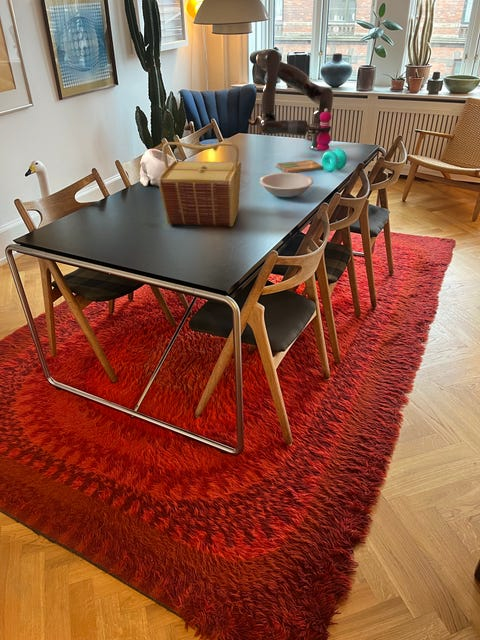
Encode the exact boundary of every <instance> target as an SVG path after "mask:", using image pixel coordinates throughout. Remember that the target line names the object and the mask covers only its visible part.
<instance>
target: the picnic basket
mask: <svg viewBox="0 0 480 640" xmlns="http://www.w3.org/2000/svg"><path fill="white" fill-rule="evenodd" d="M168 146H181V147H182V148H184V149H188V150H193V151H207V150H213V149H215V148H218V147H221V146H222V147H224V146H227V147H228V146H230V147H233V148H234V161H190V160H189V161H188V160H187V161H184V160H183V161H181V160H180V161H179V160H178V161H177V160H176V161H173V162H172V163H171V164H170V165H169V166H168V160H167V155H166V154H167V147H168ZM161 151H162V152H163V157H164V162H165V168H166V169H165V170H164V172H163V173H162V174H161V175H160V176H159V180H158V183H159V186H158V187H159V192H160V197H161V201H162V205H163V210H164V213H165V218H166V223H167V224H168V225H169V226H173V225H190V226H218V227H219V226H220V227H230V228H232V227H233V225H234V223H235V221H236V218H237V216H238V213H239V207H240V206H239V205H240V189H241V176H242V175H241V173H242V163H241V161H239V154H240V149H239V147H238V145H237V144H235V143H233V142H216V143H211V144H206V145H196V144H190V143H185V142H180V141H179V142H178V141H177V142H176V141H168V142H165V143H163V145H162V148H161Z"/></svg>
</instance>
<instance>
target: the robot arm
mask: <svg viewBox="0 0 480 640" xmlns="http://www.w3.org/2000/svg"><path fill="white" fill-rule="evenodd" d="M256 64H257V66H258V67H259V68H260V69H261V70H263V71H265V72H266V81H265V85H264V88H263V91H262V94H261V108H260V109H261V114H262V121H261V123H260V124H259V130H260V132H261V133H262V134H264V135H291V136H301V137H302V136H303V137H305V136H306V137H305V138H306V140H308V141H311V150H314V151H319V150H318V149H317V145H319V144H318V143H317V137H318V135H319V133H322V132H324V133H329V134H330V131H331V130H332V126H331V125H329V128H322V127H321V125H320V122H321V120H320V114H321V113H322V112H325V111H324V110H325V109H326V108H327V109H328V111H327V112H329V113H330V114H331V115H332V110H333V102H334V92H333V90H332V88H330V87H327V86H321V85H318V84H316V83H314V82H313V81H311V80H310V78H309V76H308V74H306V73H305V72H304V71H303V70H301V69H299V68H298V67H296V66H294V65H291V64H289V63H287V62H283V61H282V60H281V55H280V53H279V52H278V50H276V49H262V50H260V51H259V52H258V53H257V55H256ZM278 80H280V81H282V82H283V83H285V84H286V85H287V86H289V87H291V88H292V89H294V90H296V91H297V92H299V93H301V94H303V95H305V96H306V97H307V98H308V99H309V100H311V101H312V102H313V103H314V104H316V105H318V110H316V111H314V112H313V117H312V118H313V120H312V123H310V124H308V120H306V119H302V120H301V119H290V120H289V119H280V120H276V113H275V108H276V107H275V106H276V89H277V83H278Z"/></svg>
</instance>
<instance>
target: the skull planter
mask: <svg viewBox="0 0 480 640" xmlns="http://www.w3.org/2000/svg"><path fill="white" fill-rule="evenodd" d="M166 155H167V160H168V166H169V165H170V164H171V163H172V162H173V161H176V162H177V160H176V159H175V158H174V157H173V156H171V155H170V154H168V153H166ZM139 164H140V171H139V175H140V179H139V182H140V184H142V185H143V186H144V187H147V186H148V185H149V182H150V185H152V186H153V185H154V186H155V185H156V186H157V187H159V183H158V180H159V176H160V175H161V174H162V173H163V172H164V170H165V169H166V168H165V162H164V157H163V152H162V150H159V149H156V148H149V149H147V150H146V151H145V152H144V153H143V155H142V156H141V159H140V163H139Z"/></svg>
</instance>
